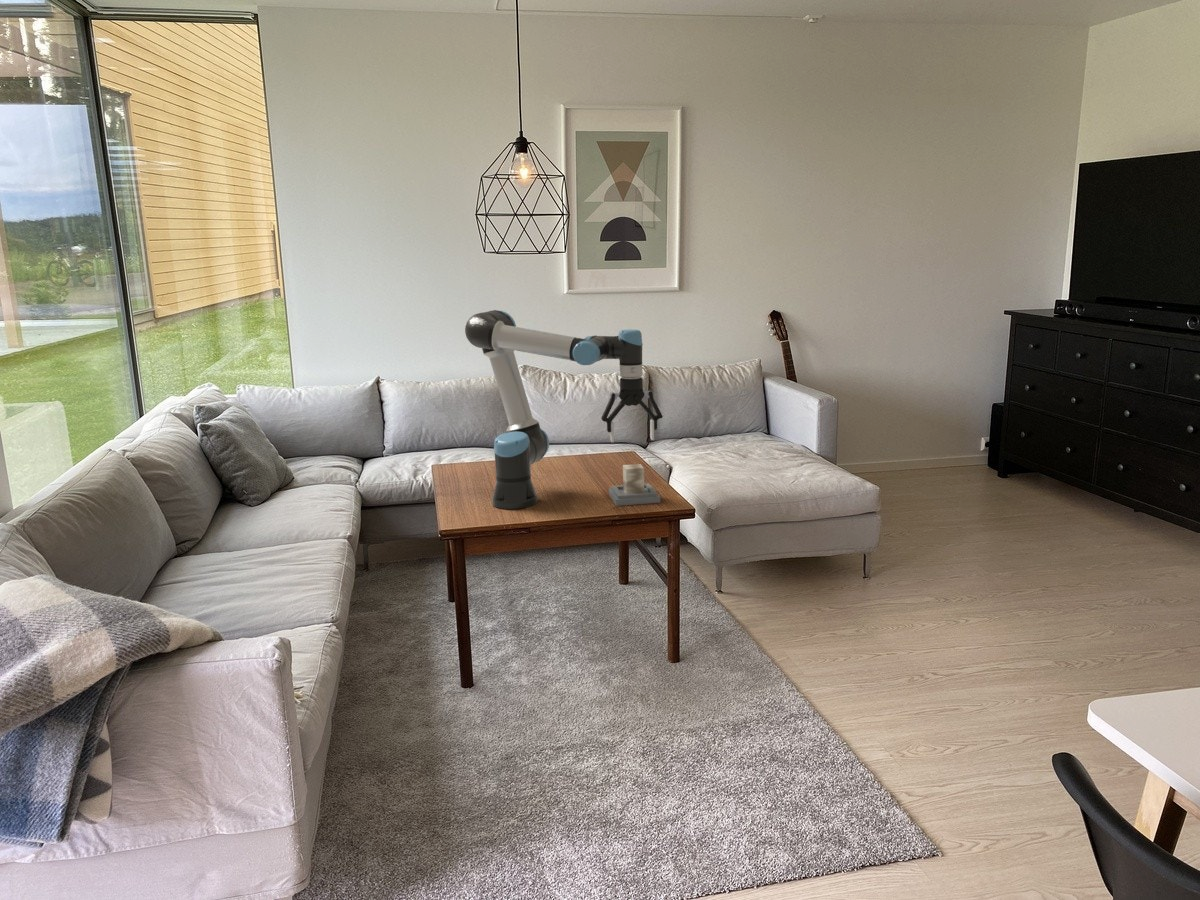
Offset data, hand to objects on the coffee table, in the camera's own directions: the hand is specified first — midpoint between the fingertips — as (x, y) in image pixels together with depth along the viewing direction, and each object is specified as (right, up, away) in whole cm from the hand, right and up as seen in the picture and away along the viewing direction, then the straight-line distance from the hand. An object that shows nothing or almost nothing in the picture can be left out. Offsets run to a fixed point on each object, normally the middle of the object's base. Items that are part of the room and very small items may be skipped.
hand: (632, 440), depth 292 cm
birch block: (+1, -17, +4) cm, 18 cm away
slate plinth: (+1, -19, +4) cm, 20 cm away
